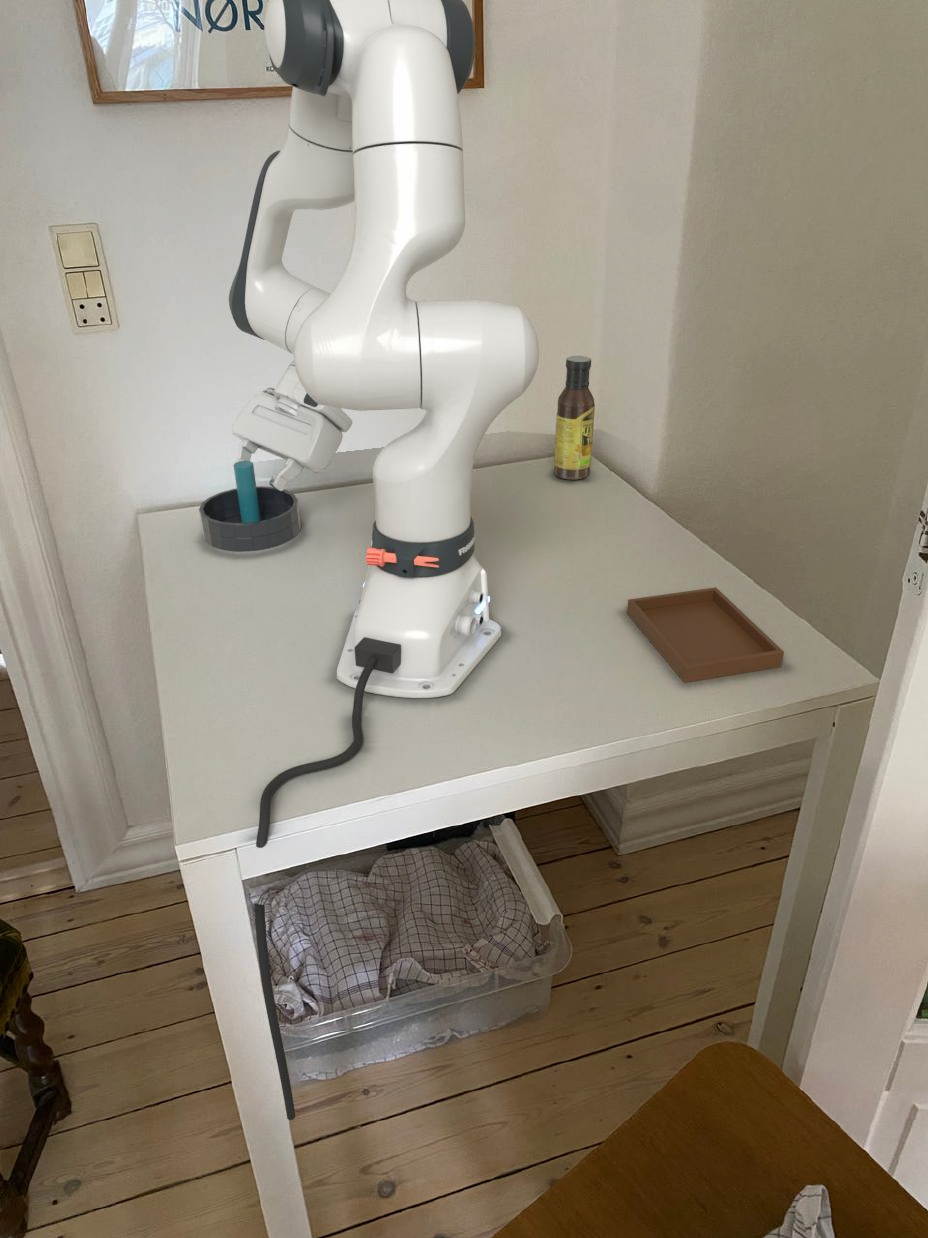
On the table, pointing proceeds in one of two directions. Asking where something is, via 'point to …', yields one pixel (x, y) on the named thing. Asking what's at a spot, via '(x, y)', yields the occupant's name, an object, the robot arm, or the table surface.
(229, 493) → the bowl
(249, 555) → the table surface
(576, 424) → the sauce bottle
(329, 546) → the table surface
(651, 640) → the tray
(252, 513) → the teal rod with crossbar
